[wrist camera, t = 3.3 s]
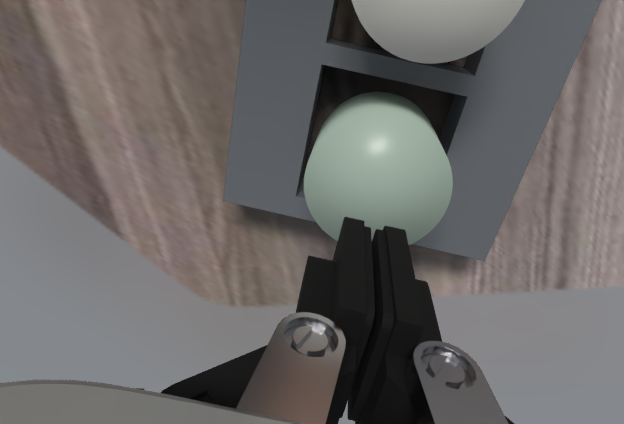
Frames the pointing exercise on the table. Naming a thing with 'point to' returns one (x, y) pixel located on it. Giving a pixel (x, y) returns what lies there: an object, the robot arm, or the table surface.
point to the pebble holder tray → (460, 81)
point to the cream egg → (435, 26)
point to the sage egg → (378, 168)
